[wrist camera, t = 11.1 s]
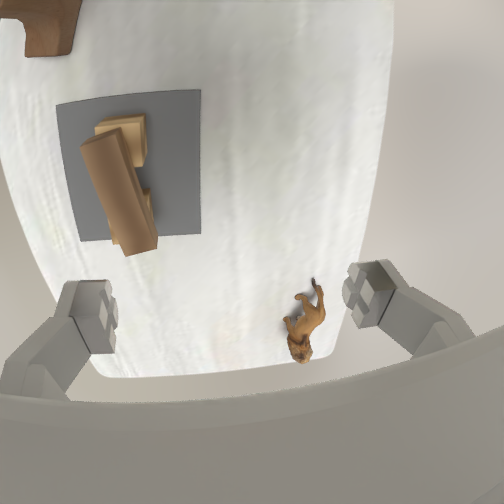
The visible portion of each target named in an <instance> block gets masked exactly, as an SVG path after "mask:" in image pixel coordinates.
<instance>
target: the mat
mask: <svg viewBox="0 0 504 504" xmlns="http://www.w3.org/2000/svg"><path fill="white" fill-rule="evenodd" d="M200 96H201V90H176V91H159V92H146V93H135V94H126V95H117V96H109V97H102V98H95V99H88V100H82V101H76V102H71V103H65V104H60V105H56V113H57V122H58V130H59V138H60V145H61V152H62V158H63V164H64V169H65V175H66V180H67V185H68V190H69V195H70V200H71V204H72V209H73V213H74V217H75V221H76V225H77V229H78V233H79V237H80V241H81V242H83V241H96V240H110V239H112V238H111V233H110V228H109V223H108V218H107V216H106V213H105V211H104V209H103V206H102V204H101V202H100V199H99V197H98V194H97V192H96V189H95V187H94V185H93V182H92V180H91V177H90V174H89V172H88V169H87V167H86V164H85V161H84V159H83V156H82V153H81V151H80V148H79V147H80V146H81V145H82V144H83V143H84V142H85V141H86V140H87V139H88V138H91V137H93V136H95V127H96V126H97V125H98V124H99V123H100V122H101V121H102V120H103V119H104V118H105V117H112V116H120V115H130V114H141V113H146V135H147V155H146V158H145V161H144V164H143V166H142V167H134V169H135V172H136V175H137V178H138V180H139V183H140V186H141V189H147V188H150V190H151V200H152V210H153V219H154V225H155V227H156V230H157V232H158V236H170V235H187V234H201V216H200Z"/></svg>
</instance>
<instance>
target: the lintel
mask: <svg viewBox="0 0 504 504" xmlns="http://www.w3.org/2000/svg"><path fill="white" fill-rule="evenodd" d="M79 148H80V151H81V153H82V156H83V159H84V161H85V164H86V167H87V169H88V172H89V174H90V177H91V180H92V182H93V185H94V187H95V189H96V192H97V194H98V197H99V199H100V202H101V204H102V206H103V209H104V211H105V213H106V216H107V218H108V220H109V222H110V225H111V227H112V229H113V231H114V233H115V236H116V238H117V240H118V242H119V244H120V246H121V248H122V251H123V253H124V255H125V257H127V256H131V255H134V254H138V253H142V252H146V251H150V250H154V249H157V242H158V232H157V230H156V227H155V225H154V222H153V219H152V217H151V214H150V211H149V208H148V206H147V203H146V200H145V197H144V195H143V192H142V189H141V186H140V183H139V180H138V178H137V175H136V172H135V169H134V166H133V163H132V160H131V157H130V154H129V151H128V148H127V144H126V141H125V138H124V135H123V132H122V128H121V127H119V128H116V129H113V130H110V131H107V132H104V133H101V134H99V135H96V136H93V137H91V138H88V139H87V140H86V141H85V142H84V143H83V144H82V145H81V146H80V147H79Z"/></svg>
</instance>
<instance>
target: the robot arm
mask: <svg viewBox="0 0 504 504" xmlns="http://www.w3.org/2000/svg"><path fill="white" fill-rule="evenodd" d="M347 272H348V274H349V277H348V278H347V279H346V280H345V281H344V283H343V287H342V296H343V300H344V303H345V305H346V306H347V307H348V308H350V309H352V314H351V316H352V318H353V320H354V322H355V323H356V325H357V327H358V328H359V329H360V328H366V327H373V326H378V327H379V328H380V329H381V330H383V331H384V332H385V333H387V334H388V335H389V336H390V337H391V338H392V339H394V340H395V341H396V342H397V343H398V344H400V345H401V346H402V347H403V348H405V349H406V350H407V351H408V352H410V353H411V354H412V355H413V356H412V358H411V359H410V360H408V361H405V362H401V363H398V364H394V365H391V366H387V367H384V368H380V369H376V370H372V371H369V372H365V373H361V374H357V375H352V376H348V377H344V378H340V379H335V380H330V381H326V382H321V383H316V384H311V385H306V386H300V387H295V388H289V389H283V390H277V391H271V392H264V393H256V394H249V395H241V396H232V397H223V398H213V399H201V400H188V401H170V402H142V403H141V402H139V403H138V402H135V403H115V402H114V403H113V402H82V401H70V399H69V398H68V397H67V396H66V395H65V392H66V391H67V389H68V388H69V386H70V385H71V383H72V382H73V380H74V379H75V377H76V376H77V375H78V373H79V372H80V370H81V369H82V368H83V366H84V365H85V363H86V362H87V360H88V359H89V358H90V356H91V355H90V354H112V353H115V344H116V335H115V332H114V330H115V329H116V328H117V326H118V308H117V303H116V300H115V298H114V297H112V296H111V293H112V286H111V283H110V281H109V280H80V281H67V282H65V284H64V286H63V289H62V292H61V295H60V298H59V301H58V304H57V307H56V311H55V314H54V317H49V318H48V319H47V320H46V321H45V322H44V323H43V324H42V325H41V326H40V327H39V328H38V329H37V330H36V331H35V332H34V333H33V334H32V335H31V336H30V337H29V338H28V339H27V340H25V341H24V342H23V344H21V345H20V346H19V348H17V349H16V351H14V353H12V355H11V356H10V357H9V358H8V359H7V360H6V361H5V364H4V368H3V371H2V375H1V378H0V504H504V325H503V326H501V327H498V328H496V329H494V330H491V331H489V332H487V333H484V334H482V335H479V336H477V337H476V336H475V335H474V333H473V332H472V330H471V329H470V327H469V326H468V325H467V323H466V322H465V321H464V319H463V318H462V316H461V315H460V314H458V313H457V312H455V311H453V310H452V309H450V308H448V307H446V306H445V305H443V304H442V303H440V302H438V301H437V300H435V299H433V298H431V297H430V296H428V295H426V294H425V293H422V292H421V291H419V290H418V289H416V288H414V287H409V286H408V284H407V283H406V281H405V280H404V279H403V277H402V276H401V275H400V273H399V272H398V271H397V269H396V268H395V267H394V265H393V264H392V263H391V262H390V261H389V260H388V259H383V260H375V261H366V262H355V263H351V264H350V266H349V268H348V271H347Z"/></svg>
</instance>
